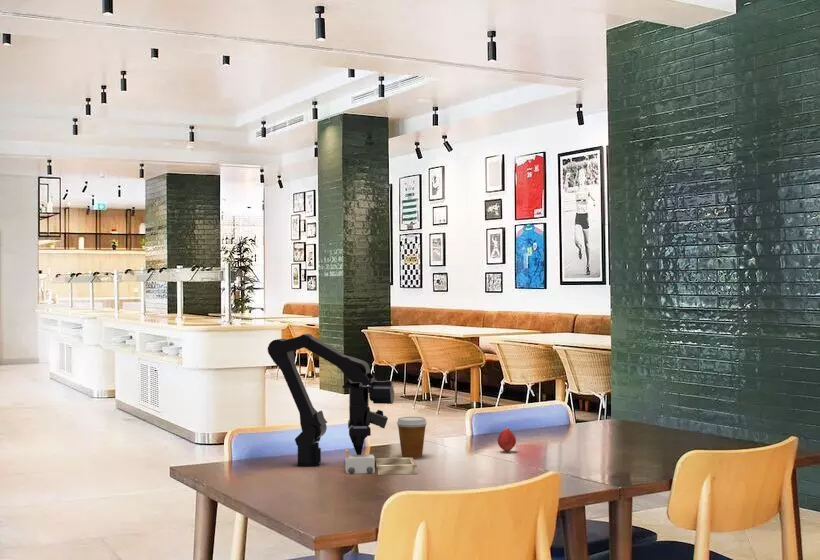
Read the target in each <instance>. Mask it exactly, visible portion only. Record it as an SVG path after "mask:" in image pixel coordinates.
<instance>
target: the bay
mask: <svg viewBox="0 0 820 560" xmlns="http://www.w3.org/2000/svg"><path fill="white" fill-rule="evenodd" d="M417 466H418V465H417V463H416V461H415V459H413V458H403V457H378V458H375V468H376V469H377V475H378V476H379V475H380V476H381V475H382V476H383V475H384V476H387V475H390V476H391V475H417V474H418V471H417V470H418V467H417Z"/></svg>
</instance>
